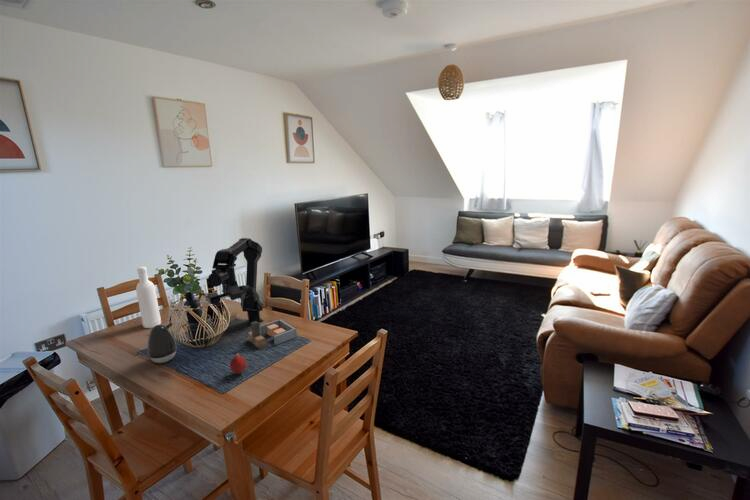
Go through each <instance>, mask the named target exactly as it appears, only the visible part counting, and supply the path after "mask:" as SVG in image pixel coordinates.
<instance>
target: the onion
mask: <svg viewBox="0 0 750 500" xmlns="http://www.w3.org/2000/svg"><path fill="white" fill-rule="evenodd" d="M247 365H248V361H247V360H246V359H245V357H243V356H242V355H240V354H239V353H236V355H235V356H234V357H233V358H232V359H231V361H230V362H229V368H230V371H231V372H232V373H234V374H241V373H243V372H244V371H245V370H246V369H247Z"/></svg>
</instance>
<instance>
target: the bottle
mask: <svg viewBox="0 0 750 500" xmlns="http://www.w3.org/2000/svg"><path fill="white" fill-rule="evenodd" d="M147 270H148V269H147V266H138V267H137V268H136V271H137V275H138V279H139V282H138V283H137V284H136V287H135V291H136V298H137V301H138V307H139V312H140V317H141V325H142V327H143V328H144V329H145V328H146V329H152V328H153V327H154V326H156V325H162V318H161V313H160V307H159V302H158V298H157V291H156V288H155V287H156V286H155V283H153V282H152V281H151V280H149V275H148V271H147Z"/></svg>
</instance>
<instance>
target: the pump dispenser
mask: <svg viewBox="0 0 750 500" xmlns="http://www.w3.org/2000/svg"><path fill="white" fill-rule="evenodd" d="M173 325H174V324H173V322H170V323H168V324H167V325H163V324H160V325H156V326H154V327H152V328H150V329H151V330H150V332H149V335H148V338H147V344H146V345H147V346H146V347H147V349H146V350H147V356H148V358H149V359H150V360H151V361H152V362H154V363H156V364H163V363H167V362H170V360H172V359H173V358H174V357H175V355H176V353H177V349H178V346H177V343H176V340H175V338H174V336H173V334H172V332H171V330H170V328H171V327H172V326H173Z"/></svg>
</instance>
